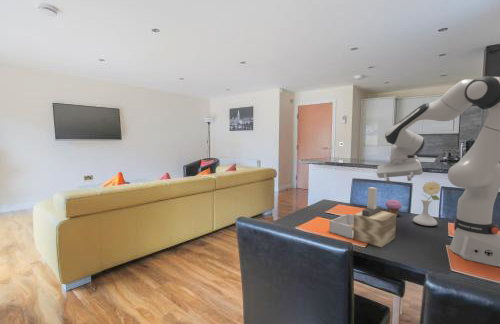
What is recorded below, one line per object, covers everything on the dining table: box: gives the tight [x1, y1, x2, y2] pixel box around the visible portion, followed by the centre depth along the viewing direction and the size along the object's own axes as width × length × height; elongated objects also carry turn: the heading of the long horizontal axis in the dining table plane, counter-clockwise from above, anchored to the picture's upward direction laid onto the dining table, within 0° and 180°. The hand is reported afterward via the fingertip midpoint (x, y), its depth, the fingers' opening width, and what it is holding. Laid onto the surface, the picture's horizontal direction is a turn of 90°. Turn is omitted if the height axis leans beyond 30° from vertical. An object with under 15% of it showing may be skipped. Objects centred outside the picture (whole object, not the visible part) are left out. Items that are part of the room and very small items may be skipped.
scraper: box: [362, 186, 381, 217], centre depth 123 cm, size 3×13×12 cm, turn 131°
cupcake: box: [385, 199, 402, 217], centre depth 160 cm, size 9×9×10 cm
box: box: [329, 213, 354, 240], centre depth 133 cm, size 12×18×6 cm, turn 131°
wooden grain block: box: [352, 210, 397, 248], centre depth 123 cm, size 13×16×12 cm
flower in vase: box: [412, 180, 442, 227], centre depth 142 cm, size 13×11×25 cm
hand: (398, 180), depth 126 cm, fingers open, 8 cm apart
